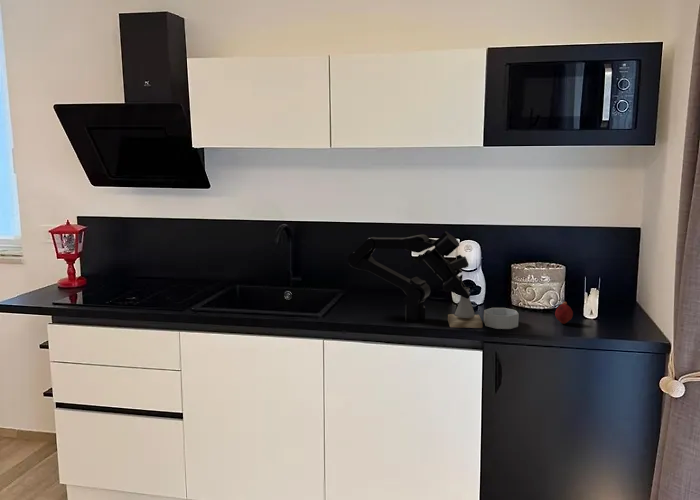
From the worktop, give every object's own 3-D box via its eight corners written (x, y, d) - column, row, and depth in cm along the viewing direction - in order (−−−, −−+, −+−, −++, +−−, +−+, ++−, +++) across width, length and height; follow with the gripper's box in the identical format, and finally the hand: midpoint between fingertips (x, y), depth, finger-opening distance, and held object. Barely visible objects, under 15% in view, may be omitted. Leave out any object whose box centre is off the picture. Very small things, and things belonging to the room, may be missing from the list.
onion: (562, 327, 220) (563, 304, 219) (551, 322, 225) (552, 300, 224) (575, 325, 222) (577, 302, 221) (564, 321, 227) (565, 299, 226)
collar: (486, 328, 218) (487, 315, 217) (482, 319, 229) (482, 307, 229) (519, 329, 217) (520, 316, 217) (514, 320, 228) (514, 308, 228)
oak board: (450, 327, 220) (450, 321, 219) (447, 319, 230) (447, 314, 229) (482, 327, 219) (482, 322, 219) (478, 320, 229) (478, 314, 228)
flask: (459, 312, 229) (460, 285, 227) (478, 315, 225) (479, 287, 223) (450, 316, 223) (451, 288, 222) (469, 319, 219) (470, 291, 217)
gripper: (453, 253, 212) (486, 287, 211) (456, 244, 230) (486, 276, 229) (429, 275, 215) (461, 309, 214) (434, 265, 233) (463, 296, 232)
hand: (469, 296), depth 222 cm, fingers closed on flask, 3 cm apart
